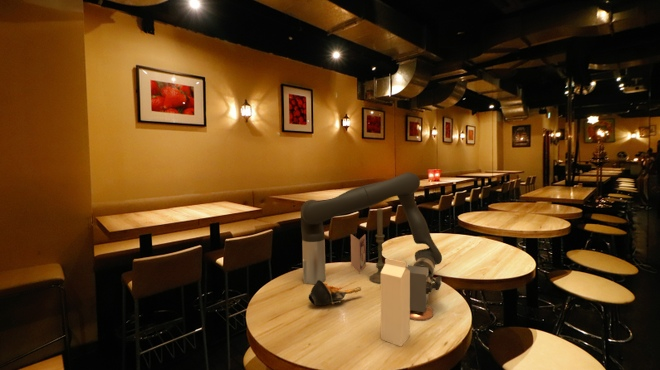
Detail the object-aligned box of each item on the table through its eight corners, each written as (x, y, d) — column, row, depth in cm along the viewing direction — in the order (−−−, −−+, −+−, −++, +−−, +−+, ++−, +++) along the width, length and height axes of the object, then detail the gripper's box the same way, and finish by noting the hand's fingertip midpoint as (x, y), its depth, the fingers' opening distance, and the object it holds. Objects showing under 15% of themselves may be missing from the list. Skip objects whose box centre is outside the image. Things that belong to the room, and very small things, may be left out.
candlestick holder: (394, 277, 125) (394, 206, 122) (386, 285, 117) (386, 210, 115) (374, 273, 130) (374, 205, 127) (365, 281, 122) (364, 208, 120)
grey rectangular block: (404, 308, 94) (404, 271, 93) (408, 300, 100) (408, 265, 99) (425, 312, 92) (426, 274, 91) (428, 303, 98) (428, 267, 97)
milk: (390, 329, 87) (389, 255, 85) (410, 336, 83) (410, 259, 82) (380, 339, 82) (379, 261, 80) (401, 347, 78) (401, 265, 77)
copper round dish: (407, 321, 91) (407, 303, 90) (396, 306, 101) (396, 289, 100) (438, 319, 92) (439, 301, 91) (425, 303, 102) (425, 287, 101)
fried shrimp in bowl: (301, 289, 105) (340, 263, 114) (315, 317, 104) (355, 289, 112) (309, 288, 97) (351, 261, 106) (325, 320, 96) (366, 289, 104)
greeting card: (361, 273, 130) (361, 240, 129) (345, 272, 132) (344, 238, 131) (367, 265, 141) (367, 233, 139) (352, 263, 143) (351, 232, 142)
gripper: (402, 258, 111) (392, 274, 96) (444, 263, 105) (440, 281, 90) (402, 278, 112) (392, 297, 97) (443, 283, 106) (440, 305, 91)
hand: (415, 289), depth 93 cm, fingers open, 6 cm apart
